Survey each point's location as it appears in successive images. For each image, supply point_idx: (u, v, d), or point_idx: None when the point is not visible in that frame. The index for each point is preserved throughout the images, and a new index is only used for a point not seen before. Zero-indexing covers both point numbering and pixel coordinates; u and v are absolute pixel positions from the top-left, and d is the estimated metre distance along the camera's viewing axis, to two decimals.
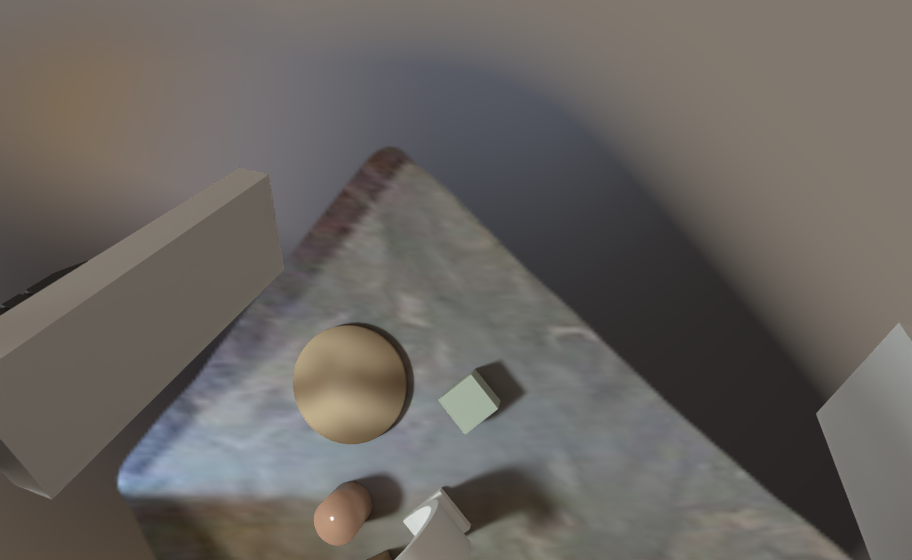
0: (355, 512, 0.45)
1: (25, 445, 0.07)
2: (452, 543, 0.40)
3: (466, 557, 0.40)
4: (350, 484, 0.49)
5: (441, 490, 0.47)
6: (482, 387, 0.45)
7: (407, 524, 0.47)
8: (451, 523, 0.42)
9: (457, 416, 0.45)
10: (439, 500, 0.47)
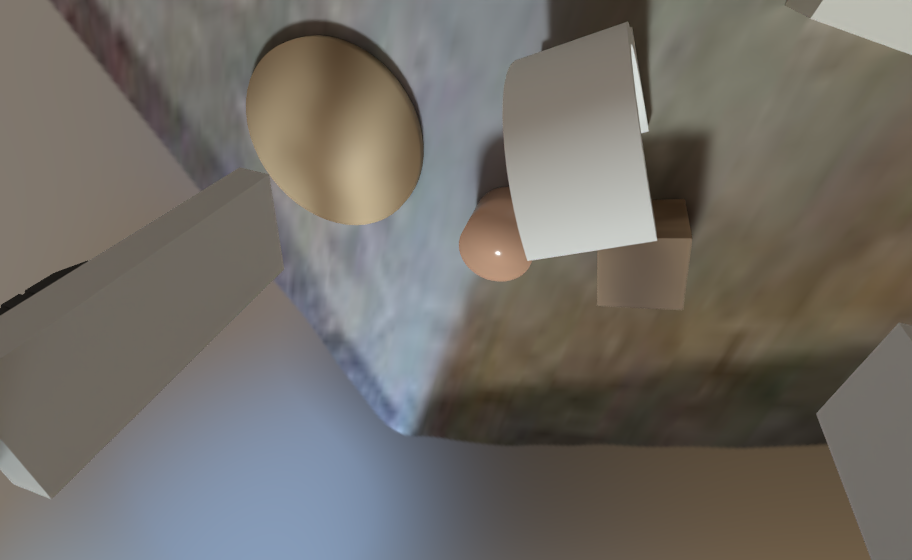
0: (492, 214, 0.27)
1: (25, 445, 0.07)
2: (575, 50, 0.18)
3: (622, 31, 0.17)
4: None
5: None
6: None
7: None
8: (561, 44, 0.20)
9: None
10: None
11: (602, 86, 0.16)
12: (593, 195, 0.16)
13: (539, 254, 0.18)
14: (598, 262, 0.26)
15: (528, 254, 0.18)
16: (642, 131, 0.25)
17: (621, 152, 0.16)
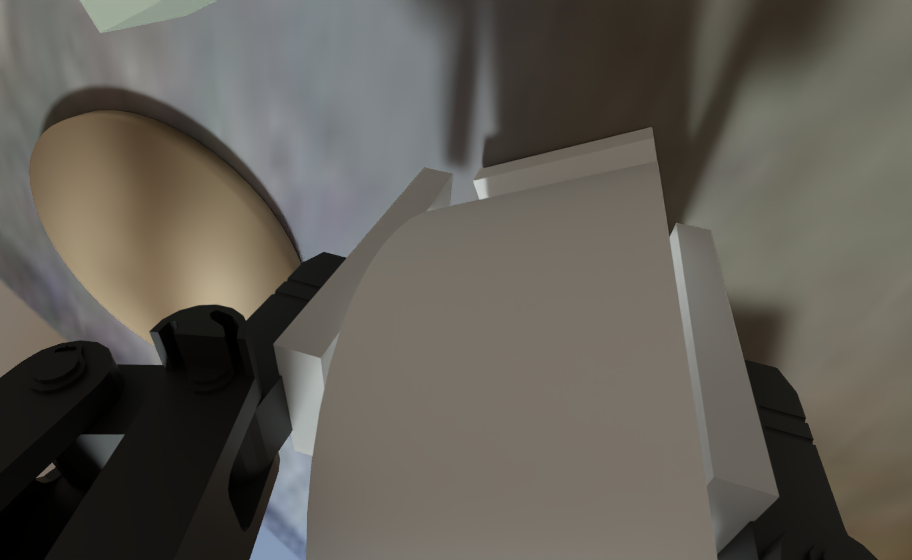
0: None
1: None
2: (520, 267, 0.06)
3: (652, 231, 0.06)
4: None
5: (481, 173, 0.13)
6: None
7: None
8: (498, 205, 0.08)
9: None
10: None
11: (595, 467, 0.05)
12: None
13: None
14: None
15: None
16: None
17: None
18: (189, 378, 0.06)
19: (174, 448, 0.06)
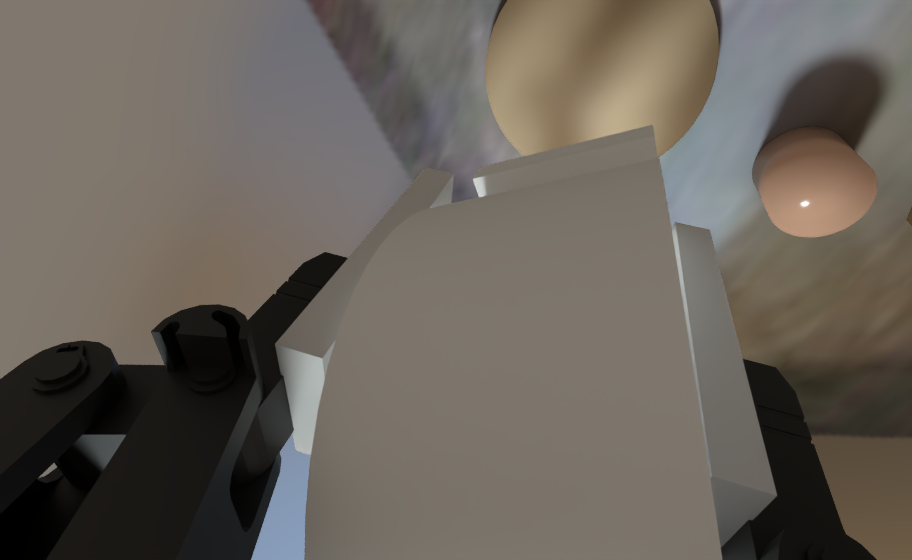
0: (832, 152, 0.22)
1: None
2: (521, 264, 0.06)
3: (655, 227, 0.06)
4: (765, 152, 0.26)
5: (481, 171, 0.13)
6: None
7: None
8: (499, 202, 0.08)
9: None
10: None
11: (598, 466, 0.05)
12: None
13: None
14: None
15: None
16: None
17: None
18: (192, 378, 0.06)
19: (175, 448, 0.06)
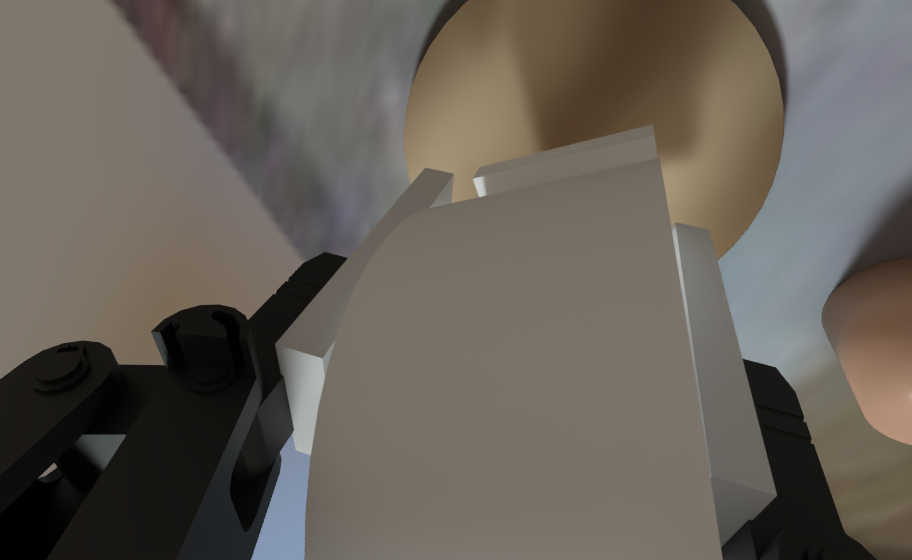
0: None
1: None
2: (521, 263, 0.06)
3: (655, 227, 0.06)
4: (848, 291, 0.16)
5: (480, 171, 0.13)
6: None
7: None
8: (498, 202, 0.08)
9: None
10: None
11: (598, 466, 0.05)
12: None
13: None
14: None
15: None
16: None
17: None
18: (192, 378, 0.06)
19: (175, 449, 0.06)
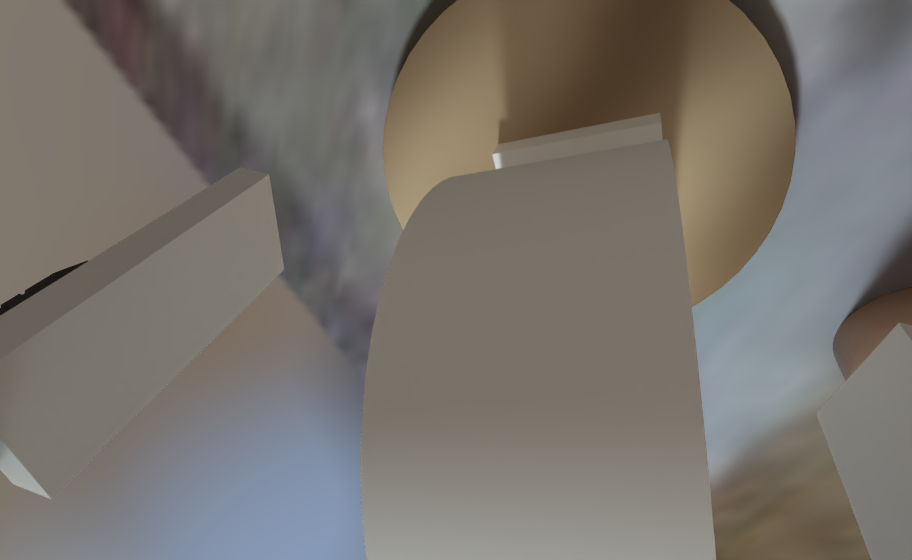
0: None
1: (26, 445, 0.07)
2: (549, 218, 0.08)
3: (663, 191, 0.07)
4: (862, 321, 0.15)
5: (499, 148, 0.14)
6: None
7: None
8: (525, 170, 0.09)
9: None
10: None
11: (611, 371, 0.06)
12: None
13: None
14: None
15: None
16: None
17: None
18: None
19: None
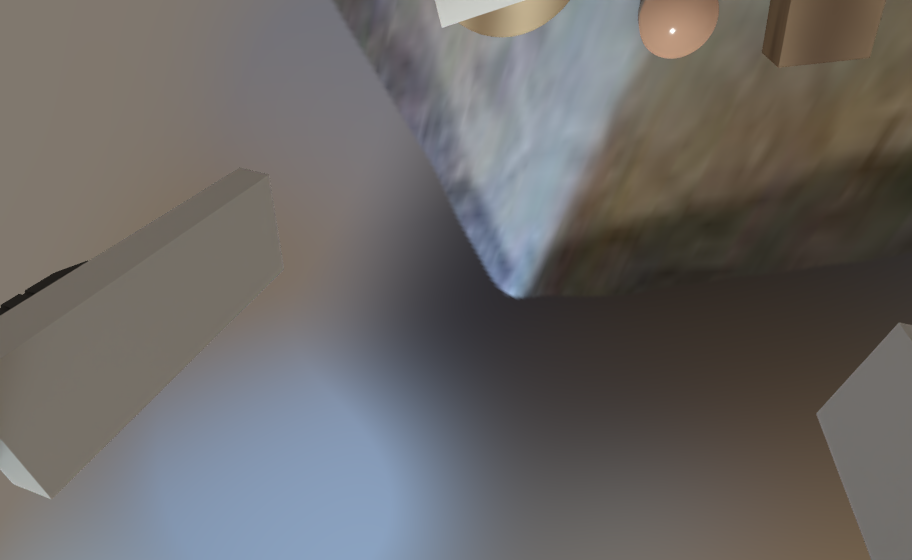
0: None
1: (25, 445, 0.07)
2: None
3: None
4: None
5: None
6: None
7: None
8: None
9: None
10: None
11: None
12: None
13: (450, 20, 0.24)
14: (790, 12, 0.27)
15: (442, 21, 0.25)
16: None
17: None
18: None
19: None
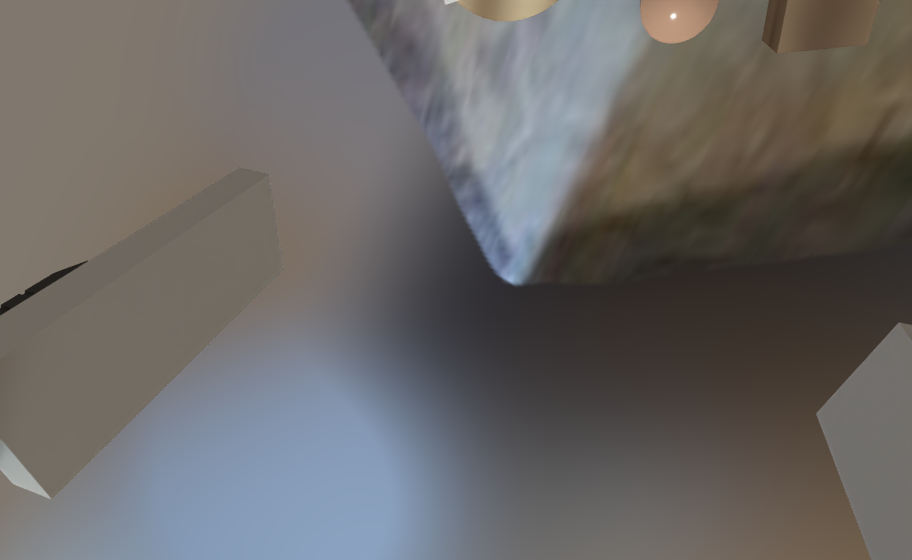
0: None
1: (26, 445, 0.07)
2: None
3: None
4: None
5: None
6: None
7: None
8: None
9: None
10: None
11: None
12: None
13: None
14: None
15: None
16: None
17: None
18: None
19: None
